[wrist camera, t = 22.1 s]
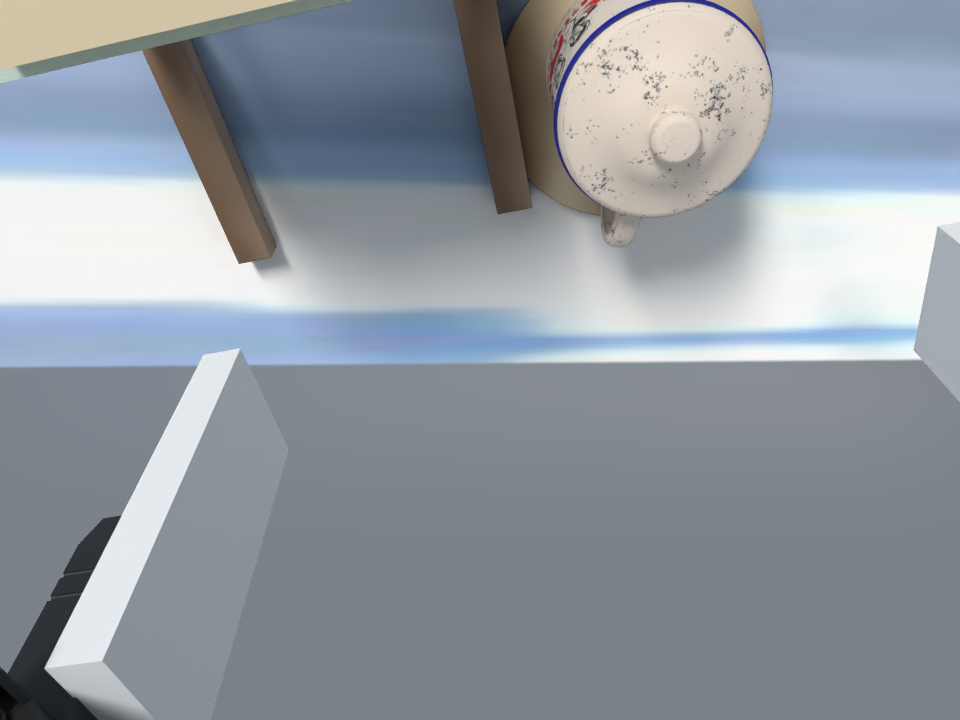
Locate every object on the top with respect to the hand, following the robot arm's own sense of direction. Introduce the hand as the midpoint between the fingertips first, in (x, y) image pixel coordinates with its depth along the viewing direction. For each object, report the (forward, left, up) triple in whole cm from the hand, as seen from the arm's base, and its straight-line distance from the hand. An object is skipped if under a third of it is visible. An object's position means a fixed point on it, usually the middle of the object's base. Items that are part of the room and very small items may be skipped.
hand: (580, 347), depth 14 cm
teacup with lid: (+5, -4, -28) cm, 28 cm away
